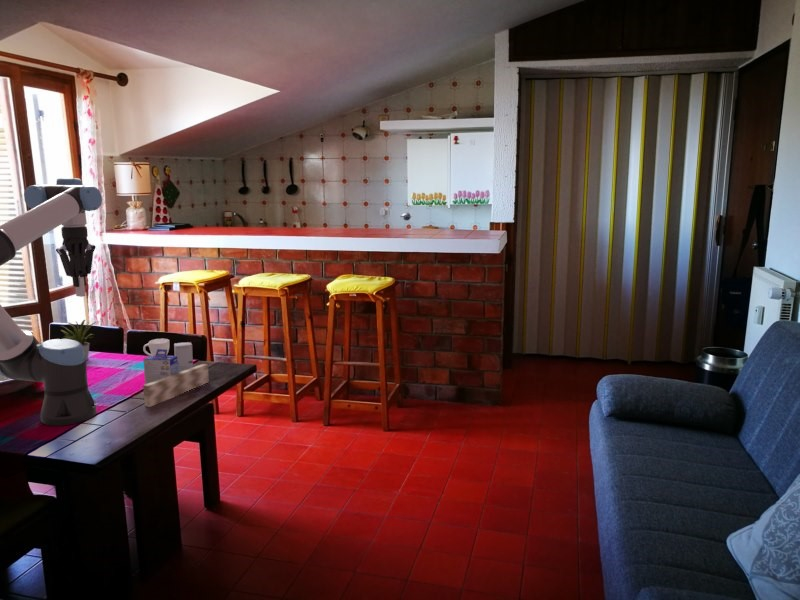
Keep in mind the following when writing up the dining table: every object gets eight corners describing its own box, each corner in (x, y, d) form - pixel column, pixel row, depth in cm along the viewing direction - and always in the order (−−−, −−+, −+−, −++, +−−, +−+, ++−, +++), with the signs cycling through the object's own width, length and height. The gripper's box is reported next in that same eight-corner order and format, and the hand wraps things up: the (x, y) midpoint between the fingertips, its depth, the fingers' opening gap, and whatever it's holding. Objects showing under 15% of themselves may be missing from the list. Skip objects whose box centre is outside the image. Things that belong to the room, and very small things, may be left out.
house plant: (98, 351, 254) (95, 313, 251) (107, 359, 244) (104, 319, 241) (60, 357, 245) (56, 318, 242) (68, 366, 235) (63, 325, 232)
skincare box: (176, 378, 222) (174, 346, 220) (175, 374, 226) (173, 343, 224) (194, 376, 225) (192, 344, 222) (192, 372, 229) (190, 341, 226)
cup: (170, 358, 246) (169, 342, 244) (143, 361, 242) (142, 344, 241) (170, 353, 253) (169, 337, 251) (144, 356, 249) (142, 340, 248)
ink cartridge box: (180, 389, 211) (177, 349, 208) (172, 394, 206) (169, 353, 203) (153, 387, 212) (150, 347, 209) (145, 393, 207) (141, 352, 204)
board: (149, 407, 195) (147, 386, 193) (144, 405, 196) (143, 385, 194) (208, 383, 217) (207, 364, 216) (204, 382, 218) (203, 363, 217)
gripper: (84, 224, 208) (91, 291, 213) (47, 226, 197) (55, 298, 202) (99, 225, 205) (105, 293, 210) (62, 227, 194) (70, 300, 198)
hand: (80, 295), depth 206 cm, fingers closed
